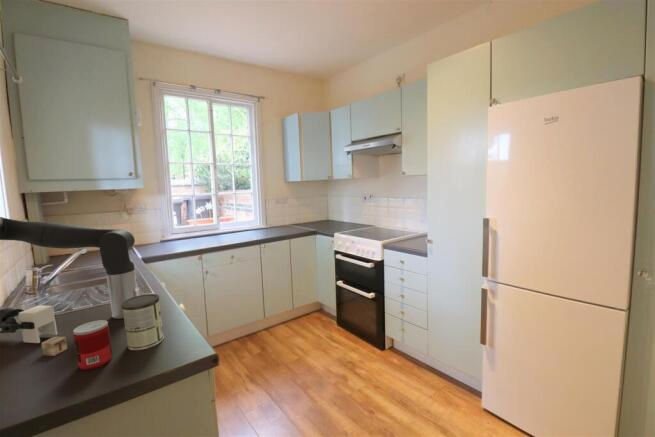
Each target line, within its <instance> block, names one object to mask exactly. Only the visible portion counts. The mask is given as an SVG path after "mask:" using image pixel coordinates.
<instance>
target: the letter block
mask: <svg viewBox="0 0 655 437" xmlns="http://www.w3.org/2000/svg"><path fill="white" fill-rule="evenodd" d="M41 349H42V354H43V356H51V357H52V356H53V357H54V356H57V355H59V354H60V353H62V352H65V351H66V350H67V349H68V344H67V337H66V336H57V335H56V336H53V337H51V338H48V339H47V340H45V341H42V342H41Z"/></svg>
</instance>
